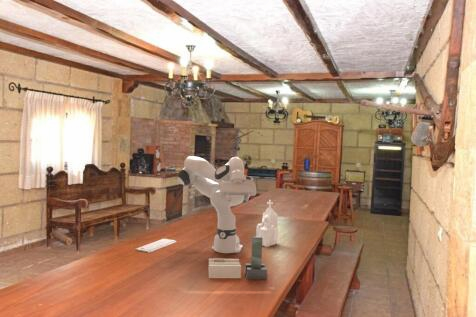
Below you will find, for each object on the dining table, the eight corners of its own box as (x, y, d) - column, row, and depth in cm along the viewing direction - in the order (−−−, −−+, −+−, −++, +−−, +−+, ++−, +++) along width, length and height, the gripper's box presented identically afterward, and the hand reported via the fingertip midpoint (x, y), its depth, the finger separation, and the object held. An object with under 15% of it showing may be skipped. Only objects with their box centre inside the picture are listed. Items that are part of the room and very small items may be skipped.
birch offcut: (224, 271, 216) (224, 260, 215) (233, 271, 216) (234, 260, 216) (224, 273, 213) (225, 261, 212) (234, 273, 213) (234, 261, 213)
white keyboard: (178, 243, 275) (163, 240, 280) (178, 238, 275) (163, 236, 279) (151, 254, 246) (135, 251, 251) (151, 249, 246) (135, 246, 251)
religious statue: (252, 245, 276) (254, 201, 274) (260, 240, 288) (261, 198, 286) (276, 249, 269) (278, 203, 267) (283, 244, 281) (285, 200, 279)
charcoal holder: (244, 274, 215) (245, 263, 215) (263, 274, 216) (263, 263, 216) (247, 281, 205) (247, 269, 204) (266, 281, 206) (267, 269, 206)
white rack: (208, 271, 218) (208, 258, 217) (238, 271, 219) (238, 258, 219) (209, 279, 205) (209, 266, 204) (240, 280, 206) (241, 266, 206)
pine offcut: (213, 271, 215) (214, 258, 215) (223, 271, 216) (223, 258, 215) (213, 273, 212) (214, 259, 212) (223, 273, 213) (224, 259, 212)
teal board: (250, 275, 211) (252, 236, 210) (260, 275, 212) (261, 237, 211) (251, 276, 209) (252, 237, 208) (260, 276, 210) (262, 238, 209)
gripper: (219, 176, 228) (219, 196, 219) (255, 177, 230) (257, 197, 221) (218, 183, 233) (218, 203, 223) (254, 184, 235) (256, 204, 226)
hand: (238, 200), depth 222 cm, fingers open, 8 cm apart
